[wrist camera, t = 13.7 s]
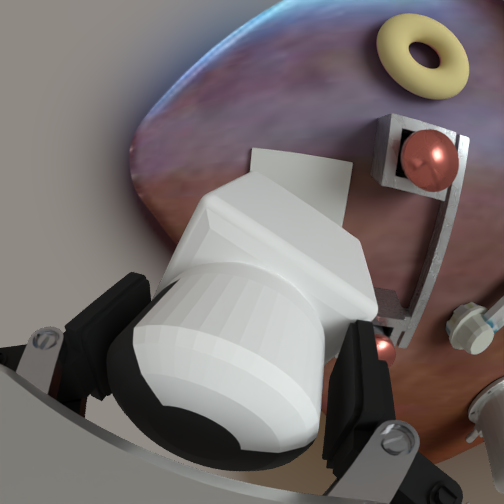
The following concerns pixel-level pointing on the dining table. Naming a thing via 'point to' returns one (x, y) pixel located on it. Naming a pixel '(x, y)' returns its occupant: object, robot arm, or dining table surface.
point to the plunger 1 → (384, 346)
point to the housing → (384, 172)
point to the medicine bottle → (242, 329)
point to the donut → (413, 74)
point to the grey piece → (475, 326)
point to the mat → (308, 178)
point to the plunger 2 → (428, 160)
